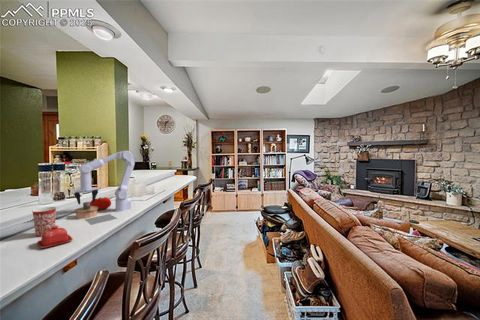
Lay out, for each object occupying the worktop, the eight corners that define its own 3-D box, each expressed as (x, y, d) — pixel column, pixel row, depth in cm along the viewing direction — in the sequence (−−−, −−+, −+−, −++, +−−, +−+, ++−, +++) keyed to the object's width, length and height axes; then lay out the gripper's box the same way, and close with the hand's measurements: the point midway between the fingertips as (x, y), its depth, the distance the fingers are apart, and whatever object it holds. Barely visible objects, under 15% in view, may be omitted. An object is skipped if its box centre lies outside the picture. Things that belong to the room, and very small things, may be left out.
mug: (52, 236, 103) (51, 210, 102) (29, 238, 100) (27, 212, 99) (63, 227, 115) (62, 204, 114) (42, 229, 111) (41, 205, 111)
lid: (94, 207, 141) (94, 199, 141) (101, 211, 134) (100, 202, 133) (72, 212, 132) (72, 203, 131) (77, 215, 124) (77, 206, 124)
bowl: (94, 213, 141) (93, 206, 141) (99, 216, 134) (99, 209, 133) (74, 217, 132) (73, 210, 132) (78, 220, 125) (78, 213, 125)
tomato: (113, 206, 159) (113, 195, 158) (110, 210, 147) (109, 198, 147) (92, 207, 154) (92, 196, 153) (87, 212, 142) (87, 200, 142)
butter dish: (68, 235, 104) (67, 219, 104) (73, 242, 97) (73, 225, 96) (36, 243, 95) (36, 226, 95) (40, 251, 88) (39, 232, 88)
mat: (109, 214, 137) (109, 214, 137) (117, 219, 128) (117, 218, 128) (84, 220, 126) (84, 219, 126) (91, 225, 117) (91, 224, 117)
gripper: (73, 184, 124) (74, 206, 124) (100, 181, 135) (101, 201, 136) (70, 183, 128) (71, 204, 129) (97, 180, 139) (97, 200, 140)
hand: (86, 202), depth 133 cm, fingers open, 7 cm apart
